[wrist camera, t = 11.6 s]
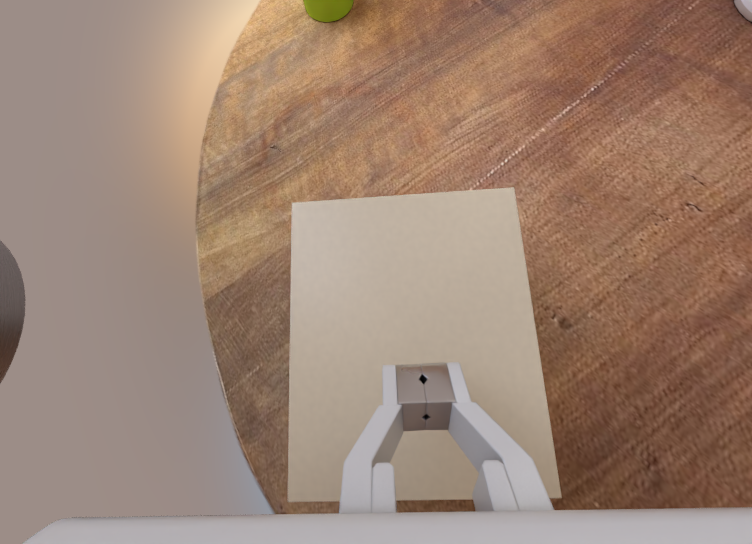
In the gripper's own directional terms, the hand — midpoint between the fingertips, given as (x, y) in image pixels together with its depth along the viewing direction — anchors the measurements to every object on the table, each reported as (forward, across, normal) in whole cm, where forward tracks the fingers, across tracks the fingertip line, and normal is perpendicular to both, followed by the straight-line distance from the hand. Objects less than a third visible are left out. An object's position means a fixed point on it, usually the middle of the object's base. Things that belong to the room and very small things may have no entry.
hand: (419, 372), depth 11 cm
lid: (+4, 0, +2) cm, 5 cm away
